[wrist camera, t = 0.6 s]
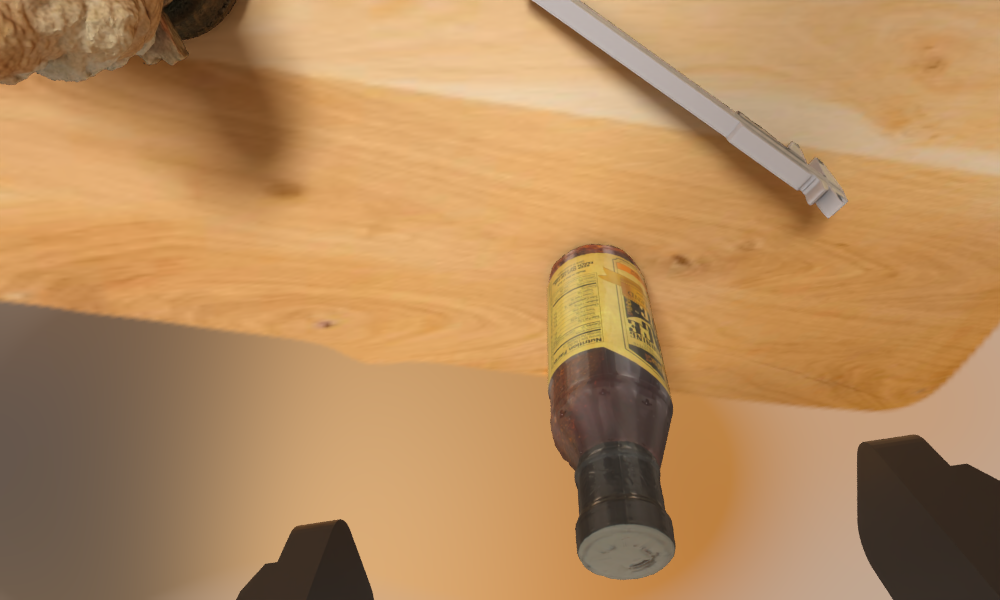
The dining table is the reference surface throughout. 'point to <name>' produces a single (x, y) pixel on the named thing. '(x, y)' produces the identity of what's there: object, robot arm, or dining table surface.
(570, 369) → the sauce bottle
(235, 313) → the dining table surface
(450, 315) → the dining table surface
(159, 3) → the owl figurine
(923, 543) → the robot arm
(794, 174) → the caliper
